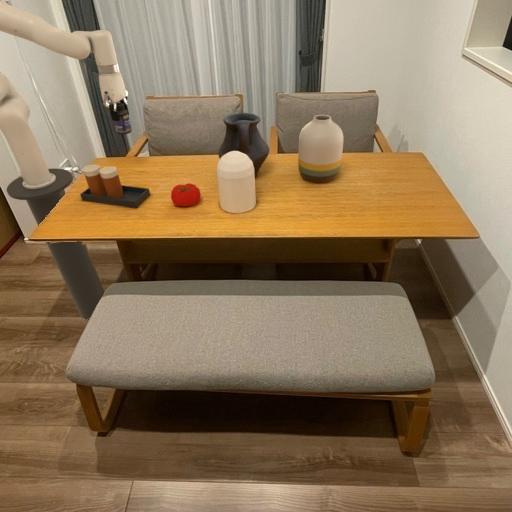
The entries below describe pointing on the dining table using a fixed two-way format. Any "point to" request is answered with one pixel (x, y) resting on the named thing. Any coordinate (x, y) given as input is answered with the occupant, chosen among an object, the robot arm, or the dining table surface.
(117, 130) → the pill bottle
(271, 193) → the dining table surface
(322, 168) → the vase
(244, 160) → the container
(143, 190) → the tray
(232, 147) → the pitcher
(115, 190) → the amber bottle
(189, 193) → the tomato
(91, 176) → the amber bottle
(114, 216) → the dining table surface
